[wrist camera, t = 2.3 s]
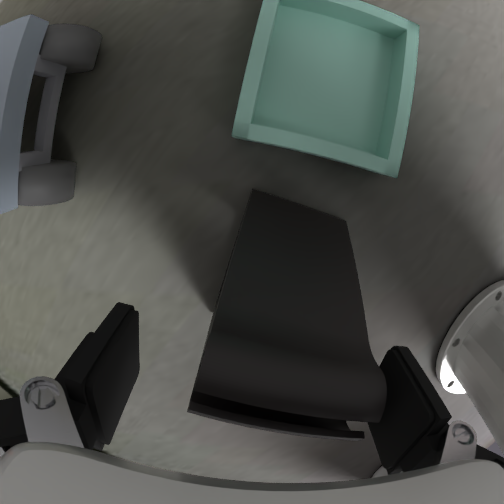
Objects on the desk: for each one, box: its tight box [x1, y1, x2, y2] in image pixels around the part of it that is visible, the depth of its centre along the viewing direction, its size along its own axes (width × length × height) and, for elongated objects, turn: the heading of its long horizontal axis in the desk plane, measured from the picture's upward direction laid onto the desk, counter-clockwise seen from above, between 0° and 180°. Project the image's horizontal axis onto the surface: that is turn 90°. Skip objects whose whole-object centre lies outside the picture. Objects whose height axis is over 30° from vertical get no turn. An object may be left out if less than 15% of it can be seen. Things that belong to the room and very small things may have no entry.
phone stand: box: [187, 189, 387, 441], centre depth 13 cm, size 9×6×12 cm, turn 162°
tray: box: [231, 0, 419, 178], centre depth 14 cm, size 9×10×3 cm
